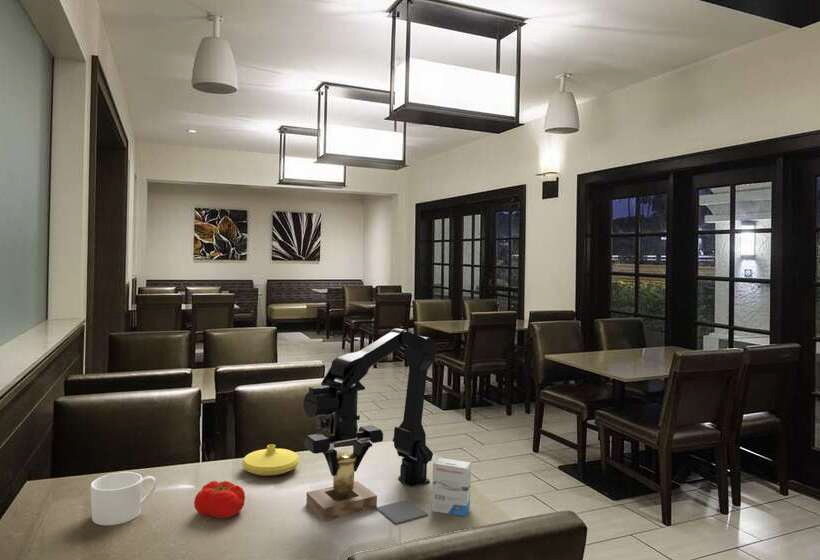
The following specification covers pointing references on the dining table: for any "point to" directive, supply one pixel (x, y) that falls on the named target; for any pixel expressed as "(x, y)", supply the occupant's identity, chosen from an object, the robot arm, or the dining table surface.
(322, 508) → the bore block
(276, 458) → the yellow flat knobbed disc
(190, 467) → the dining table surface
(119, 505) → the mug
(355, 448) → the robot arm
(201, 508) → the tomato
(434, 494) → the ink box
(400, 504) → the felt pad
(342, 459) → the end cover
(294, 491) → the dining table surface
